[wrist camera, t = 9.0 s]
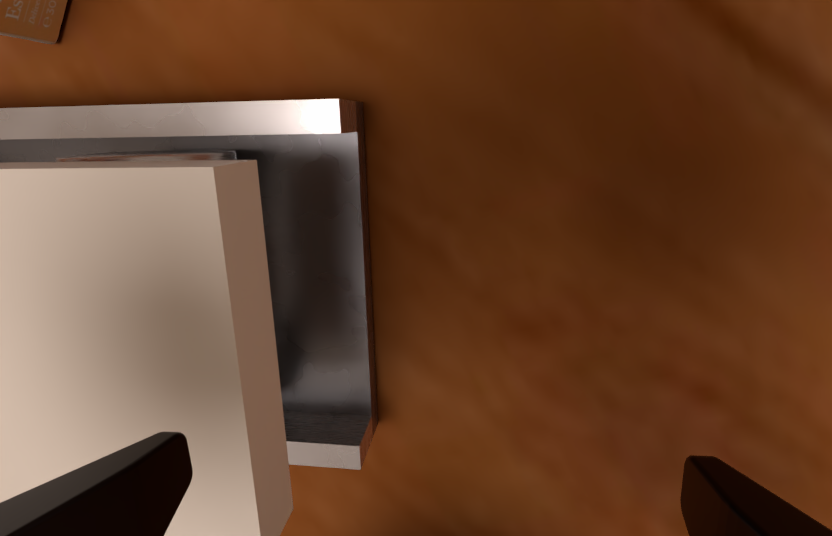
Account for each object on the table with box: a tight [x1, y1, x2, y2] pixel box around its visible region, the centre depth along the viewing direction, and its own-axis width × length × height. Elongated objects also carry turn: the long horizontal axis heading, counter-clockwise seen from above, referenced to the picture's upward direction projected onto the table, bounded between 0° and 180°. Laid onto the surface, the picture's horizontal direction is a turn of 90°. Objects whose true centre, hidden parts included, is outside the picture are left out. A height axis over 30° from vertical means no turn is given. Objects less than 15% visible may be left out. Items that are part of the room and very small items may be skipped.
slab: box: [0, 160, 293, 536], centre depth 13 cm, size 10×10×2 cm
